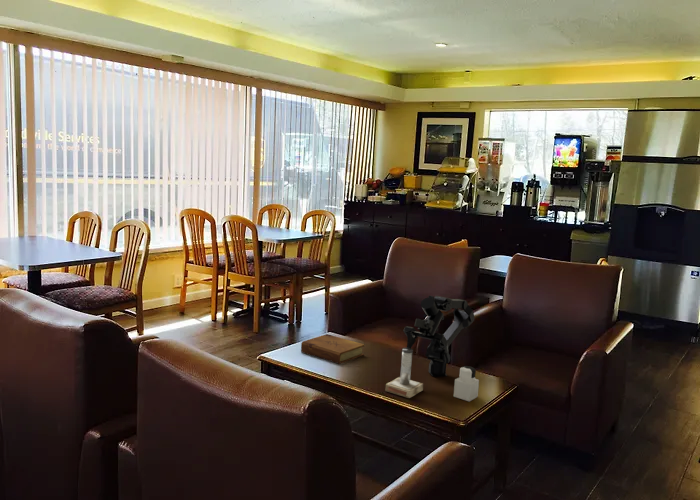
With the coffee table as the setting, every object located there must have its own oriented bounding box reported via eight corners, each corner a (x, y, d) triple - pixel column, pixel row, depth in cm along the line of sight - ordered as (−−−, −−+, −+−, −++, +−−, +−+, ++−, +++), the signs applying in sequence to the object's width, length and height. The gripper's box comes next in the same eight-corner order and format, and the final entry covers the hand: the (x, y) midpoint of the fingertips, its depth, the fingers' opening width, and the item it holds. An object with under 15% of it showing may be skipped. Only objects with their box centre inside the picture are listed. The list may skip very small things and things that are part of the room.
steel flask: (410, 381, 231) (413, 348, 228) (409, 385, 227) (412, 351, 224) (400, 380, 231) (402, 347, 229) (398, 384, 227) (401, 350, 225)
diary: (300, 353, 270) (301, 341, 270) (326, 345, 285) (327, 333, 284) (338, 365, 256) (339, 352, 256) (363, 355, 271) (364, 343, 270)
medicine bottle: (461, 391, 231) (464, 363, 230) (477, 396, 227) (480, 367, 225) (453, 396, 226) (455, 367, 224) (469, 402, 221) (471, 372, 220)
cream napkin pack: (399, 383, 237) (399, 376, 237) (422, 390, 231) (423, 382, 230) (384, 391, 228) (385, 383, 227) (409, 398, 222) (409, 390, 221)
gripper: (406, 307, 241) (390, 338, 235) (444, 315, 229) (428, 348, 222) (416, 322, 248) (400, 352, 242) (454, 330, 236) (438, 362, 230)
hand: (416, 353), depth 234 cm, fingers open, 9 cm apart
